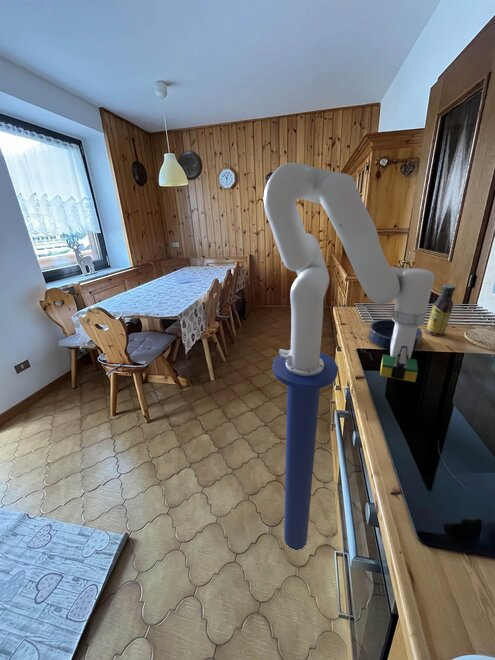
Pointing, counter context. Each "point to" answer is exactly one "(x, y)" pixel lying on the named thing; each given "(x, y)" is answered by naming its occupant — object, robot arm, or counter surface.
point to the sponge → (409, 372)
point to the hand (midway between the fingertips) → (397, 371)
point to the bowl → (387, 334)
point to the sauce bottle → (441, 311)
